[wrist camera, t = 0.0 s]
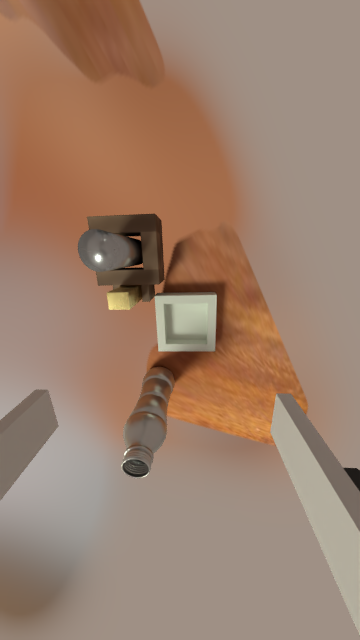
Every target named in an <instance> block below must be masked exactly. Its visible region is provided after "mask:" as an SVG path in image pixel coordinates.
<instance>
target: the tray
mask: <svg viewBox="0 0 360 640" xmlns="http://www.w3.org/2000/svg"><path fill="white" fill-rule="evenodd" d="M216 306H217V294H216V293H215V292H187V293H157V294H156V295H155V307H156V322H157V335H158V350H159V351H215V338H216Z"/></svg>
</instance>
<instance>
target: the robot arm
mask: <svg viewBox="0 0 360 640" xmlns="http://www.w3.org/2000/svg"><path fill="white" fill-rule="evenodd" d="M57 427H58V422H57V419H56V415H55V412H54V409H53V405H52V402H51V398H50V395H49V391H48V390H35V391H34V392H32V393H31V394H30V395H29V396H28V397H27V398H26V399H24V400H23V401H22V402H21V403H20V404H19V405H18V406H16V407H15V408H14V409H13V410H12V411H10V412H9V413H8V414H7V415H6V416H5V417H4V418H2V419H1V420H0V500H1V499H2V498H3V496H4V495H5V494H6V493H7V491H8V490H9V489H10V488H11V486H12V485H13V484H14V482H15V481H16V480H17V478H18V477H19V476H20V475H21V473H22V472H23V471H24V469H25V468H26V467H27V466H28V464H29V463H30V462H31V461H32V459H33V458H34V457H35V456H36V454H37V453H38V451H39V450H40V449H41V448H42V446H43V445H44V444H45V443H46V441H47V440H48V439H49V438H50V436H51V435H52V433H53V432H54V431H55V430H56V428H57ZM271 435H272V437H273V439H274V441H275V444H276V446H277V448H278V450H279V453H280V455H281V457H282V460H283V462H284V464H285V466H286V469H287V471H288V473H289V476H290V478H291V480H292V482H293V485H294V487H295V489H296V492H297V494H298V496H299V498H300V501H301V503H302V505H303V507H304V510H305V512H306V514H307V516H308V519H309V521H310V523H311V526H312V528H313V530H314V533H315V535H316V537H317V539H318V542H319V544H320V546H321V548H322V551H323V553H324V555H325V558H326V560H327V562H328V565H329V567H330V569H331V571H332V574H333V576H334V578H335V580H336V583H337V585H338V587H339V590H340V592H341V594H342V597H343V599H344V601H345V603H346V606H347V608H348V610H349V612H350V615H351V617H352V619H353V622H354V624H355V626H356V628H357V631H358V633H359V635H360V470H358V469H357V468H343V467H342V466H341V464H340V463H339V461H338V460H337V459H336V457H335V456H334V454H333V453H332V451H331V450H330V449H329V447H328V446H327V444H326V443H325V442H324V440H323V439H322V437H321V436H320V435H319V433H318V432H317V430H316V429H315V427H314V426H313V425H312V423H311V422H310V420H309V419H308V418H307V416H306V415H305V413H304V412H303V410H302V409H301V407H300V406H299V405H298V403H297V402H296V400H295V399H294V398H293V396H292V395H291V394H276V400H275V406H274V413H273V419H272V426H271Z"/></svg>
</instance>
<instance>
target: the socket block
mask: <svg viewBox="0 0 360 640" xmlns="http://www.w3.org/2000/svg"><path fill="white" fill-rule="evenodd" d="M87 219H88V225H89V230H91V229H100V230H103V231H107V232H111V233H115V234H118V235H122V236H141V243H142V255H143V266H144V268H119V269H114V270H109V271H104V272H97V271H96V275H97V281H98V285H99V286H100V285H113V290H114V289H116V288H118V287H121V286H123V285H141V289H142V300H143V302H146V301H147V302H148V301H149V302H150V301H151V299H152V298H153V297H154V296H155V289H154V284H160V283H161V282H162V281H163V280H164V263H163V244H162V225H161V220H160V219H159V218H158V217H157V215H155V214H138V215H117V216H93V217H87Z"/></svg>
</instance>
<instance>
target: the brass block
mask: <svg viewBox="0 0 360 640" xmlns="http://www.w3.org/2000/svg"><path fill="white" fill-rule="evenodd" d="M107 298H108V305H109V310H112V309H113V310H114V309H115V310H117V309H118V310H120V309H131V308H132V307H133V306H134V305H136V304H137V303H138V302H139V301H140V300H141V299H142V289H141V285H123V286H121V287H118V288H116V289H114V290H112V291H110V292H107Z"/></svg>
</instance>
